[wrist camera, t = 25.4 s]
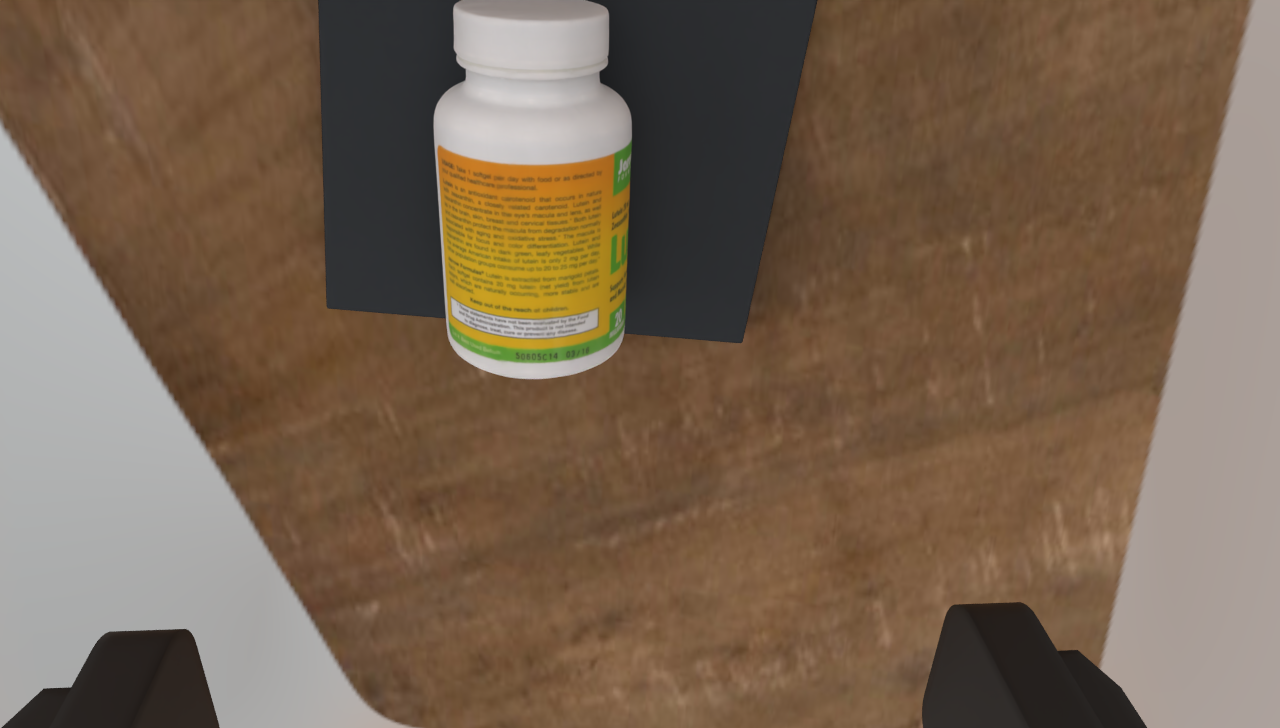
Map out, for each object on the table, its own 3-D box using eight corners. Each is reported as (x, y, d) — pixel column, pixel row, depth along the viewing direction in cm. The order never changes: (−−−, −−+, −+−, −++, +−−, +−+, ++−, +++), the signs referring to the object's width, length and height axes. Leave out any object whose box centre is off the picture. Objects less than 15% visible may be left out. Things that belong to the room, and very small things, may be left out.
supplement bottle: (643, 376, 27) (661, 25, 22) (455, 393, 26) (430, 27, 21) (604, 294, 32) (612, -12, 27) (442, 306, 31) (419, -13, 26)
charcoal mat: (830, -102, 27) (840, -100, 26) (737, 330, 34) (742, 344, 33) (320, -181, 25) (312, -181, 24) (332, 295, 32) (326, 309, 31)
